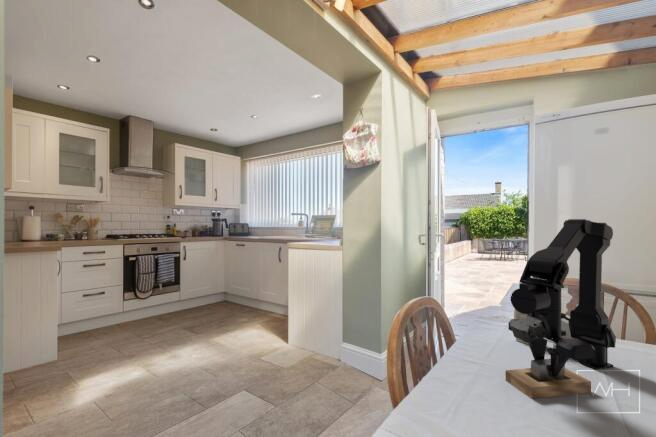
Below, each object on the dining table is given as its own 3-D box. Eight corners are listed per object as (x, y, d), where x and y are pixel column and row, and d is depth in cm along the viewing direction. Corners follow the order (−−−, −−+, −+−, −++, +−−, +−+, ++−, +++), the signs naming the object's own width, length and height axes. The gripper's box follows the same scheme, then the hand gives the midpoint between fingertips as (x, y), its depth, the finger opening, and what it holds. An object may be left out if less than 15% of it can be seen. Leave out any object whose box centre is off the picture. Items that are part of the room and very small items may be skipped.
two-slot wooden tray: (559, 374, 80) (559, 365, 80) (591, 391, 72) (591, 381, 72) (505, 380, 77) (505, 370, 77) (531, 398, 69) (531, 387, 69)
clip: (554, 381, 76) (555, 358, 76) (563, 387, 74) (565, 363, 73) (530, 384, 75) (531, 360, 75) (538, 390, 72) (539, 365, 72)
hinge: (585, 340, 102) (579, 313, 101) (577, 347, 100) (571, 320, 99) (533, 324, 117) (528, 301, 116) (526, 330, 115) (520, 307, 114)
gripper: (490, 299, 82) (490, 357, 82) (552, 322, 64) (552, 396, 64) (526, 297, 84) (526, 353, 84) (596, 319, 66) (597, 391, 66)
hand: (546, 371), depth 74 cm, fingers open, 4 cm apart
